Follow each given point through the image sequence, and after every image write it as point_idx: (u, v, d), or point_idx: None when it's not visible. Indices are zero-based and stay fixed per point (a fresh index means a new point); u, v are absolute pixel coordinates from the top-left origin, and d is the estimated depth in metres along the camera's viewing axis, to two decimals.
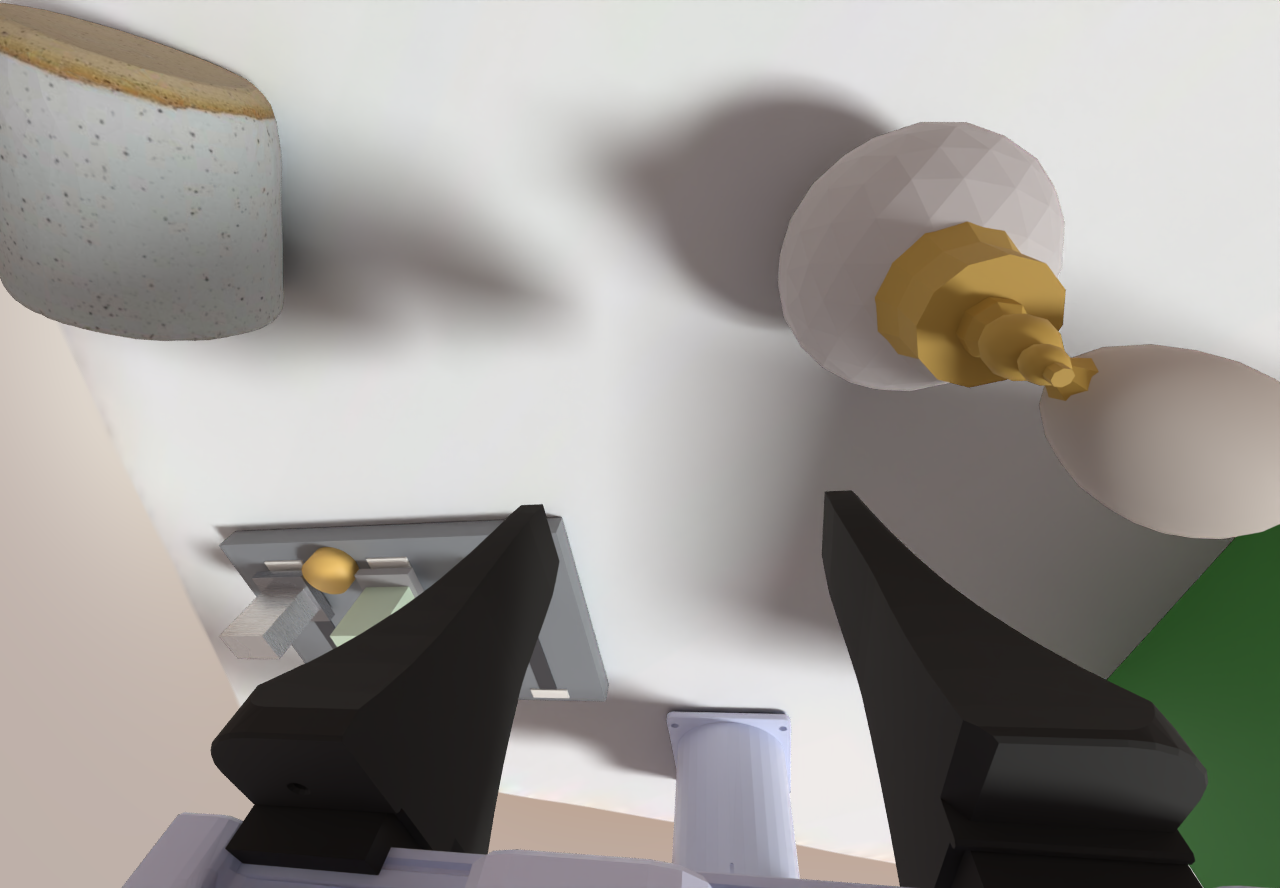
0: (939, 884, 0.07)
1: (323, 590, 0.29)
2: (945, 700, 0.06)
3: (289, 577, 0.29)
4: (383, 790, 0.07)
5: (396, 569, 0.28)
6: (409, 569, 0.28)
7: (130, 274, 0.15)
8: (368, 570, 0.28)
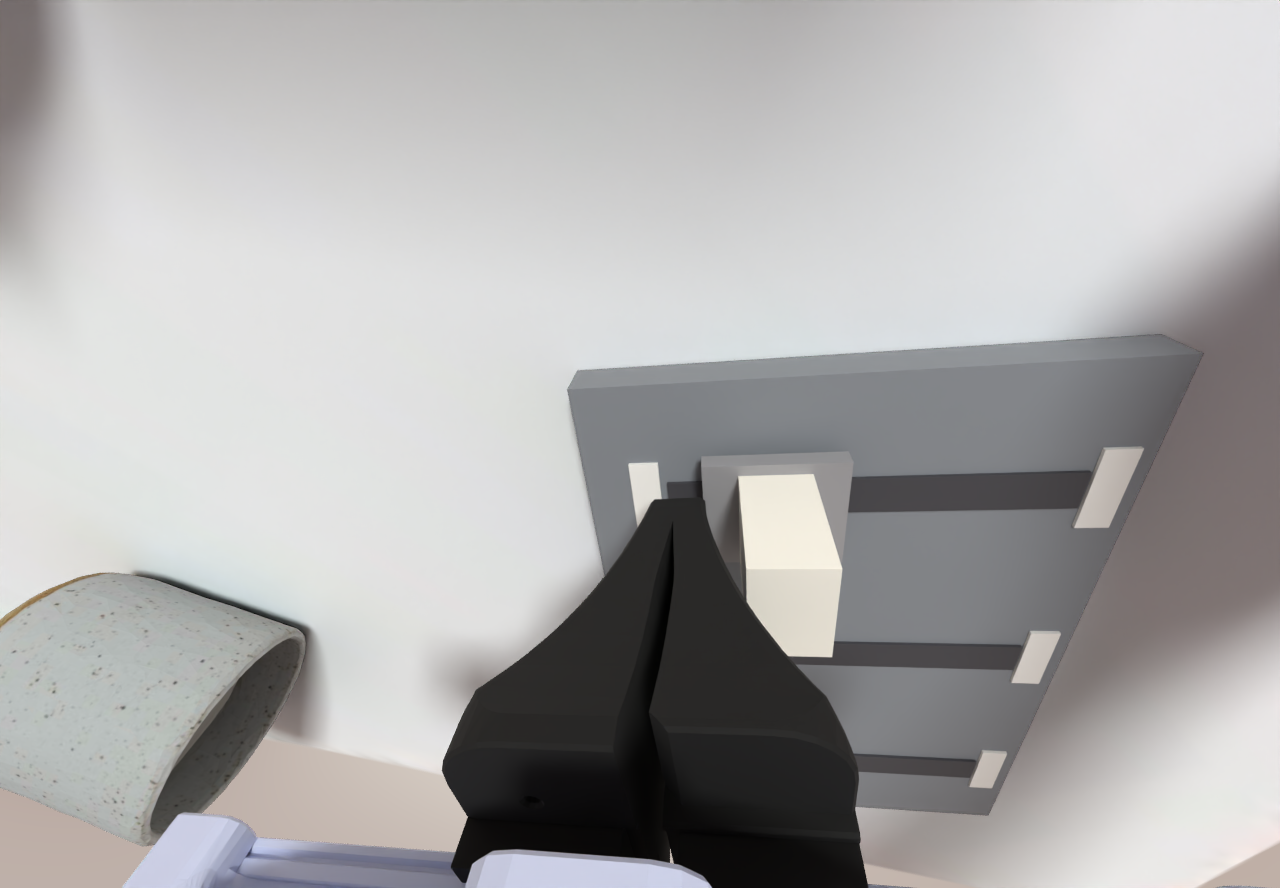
0: None
1: None
2: (657, 694, 0.07)
3: None
4: (628, 804, 0.07)
5: None
6: None
7: (86, 768, 0.16)
8: None
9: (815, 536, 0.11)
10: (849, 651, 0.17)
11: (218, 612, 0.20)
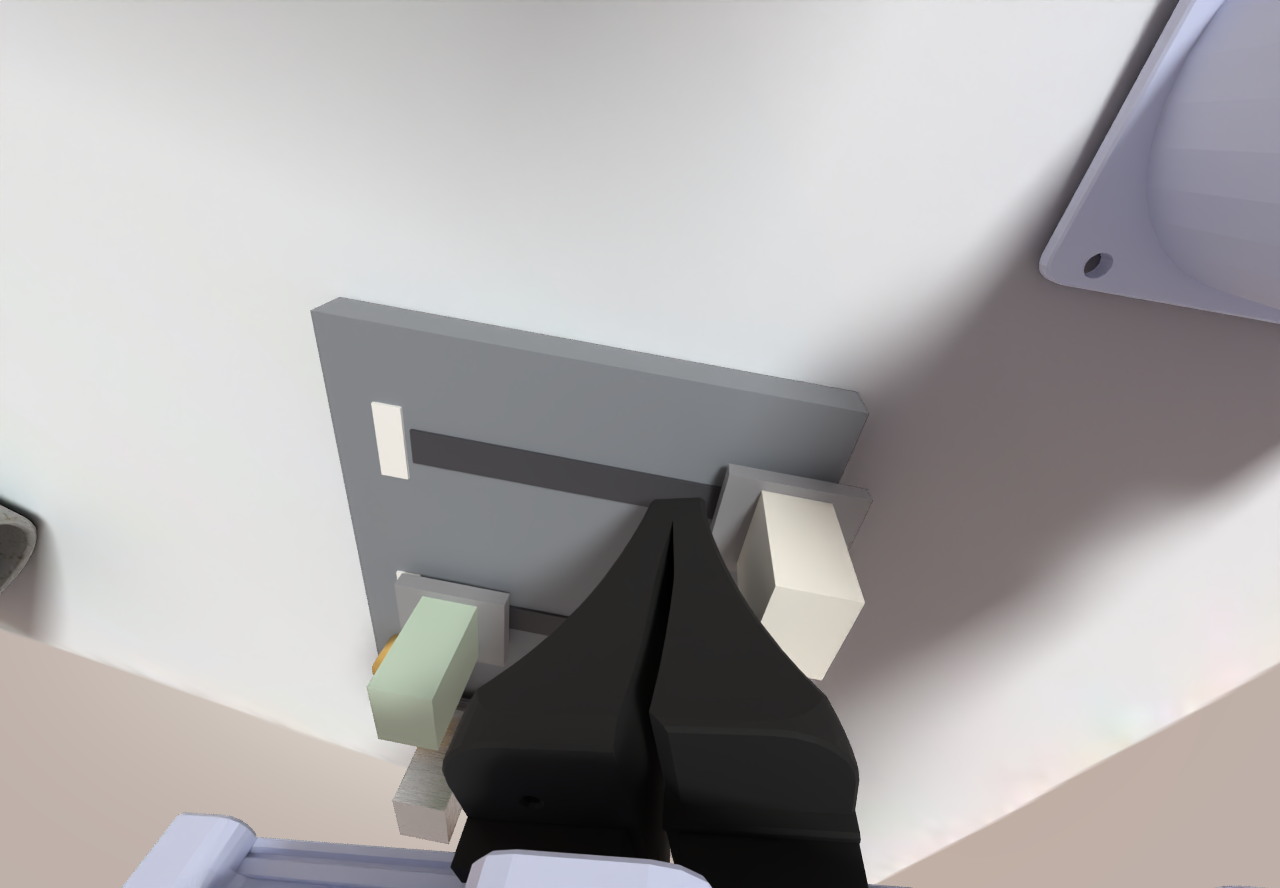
0: None
1: None
2: (657, 694, 0.07)
3: None
4: (628, 804, 0.07)
5: None
6: (399, 578, 0.17)
7: None
8: None
9: (838, 566, 0.11)
10: None
11: None
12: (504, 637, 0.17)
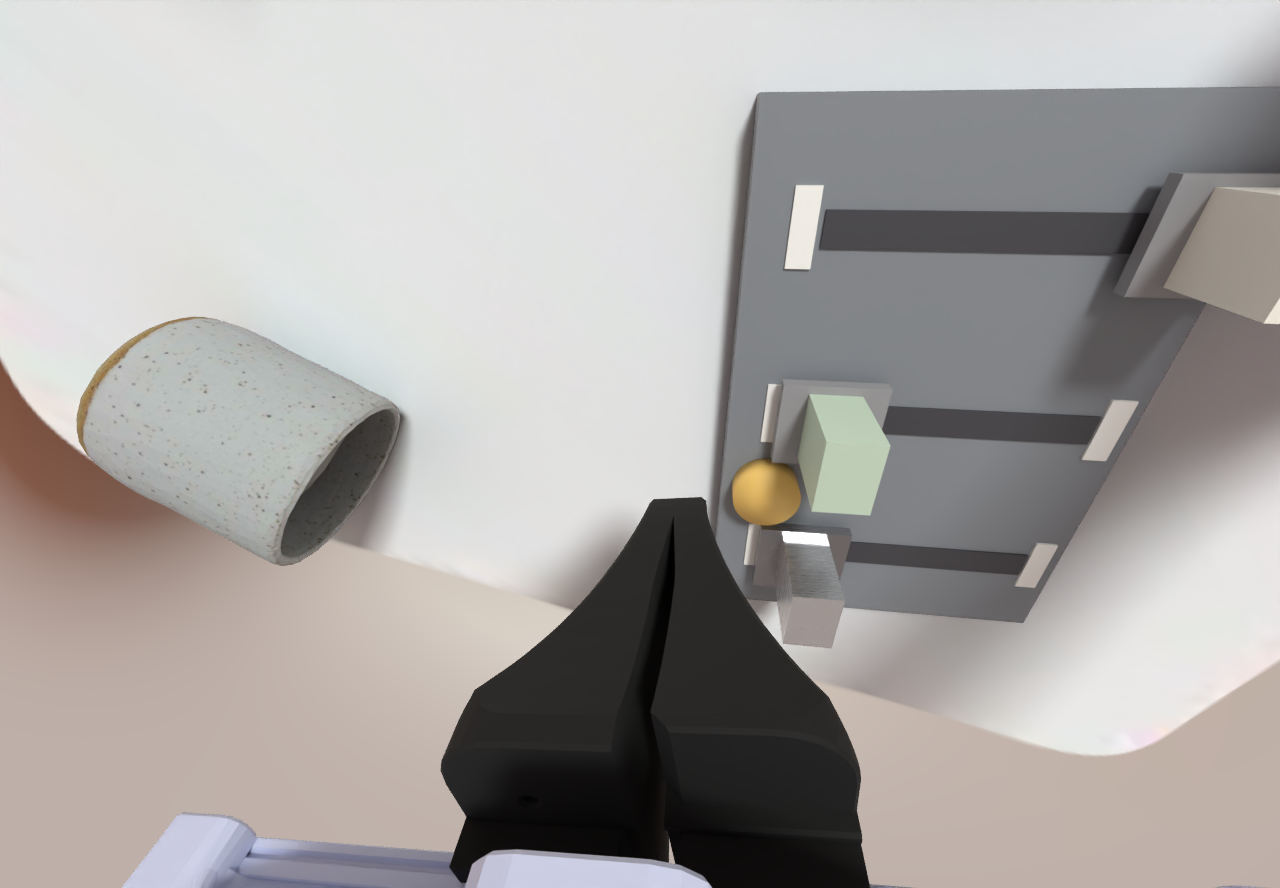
0: (677, 864, 0.07)
1: (789, 513, 0.21)
2: (658, 694, 0.07)
3: (759, 543, 0.22)
4: (627, 804, 0.07)
5: (779, 402, 0.19)
6: (782, 382, 0.18)
7: (234, 462, 0.17)
8: (773, 442, 0.19)
9: None
10: (944, 420, 0.19)
11: (334, 373, 0.21)
12: None
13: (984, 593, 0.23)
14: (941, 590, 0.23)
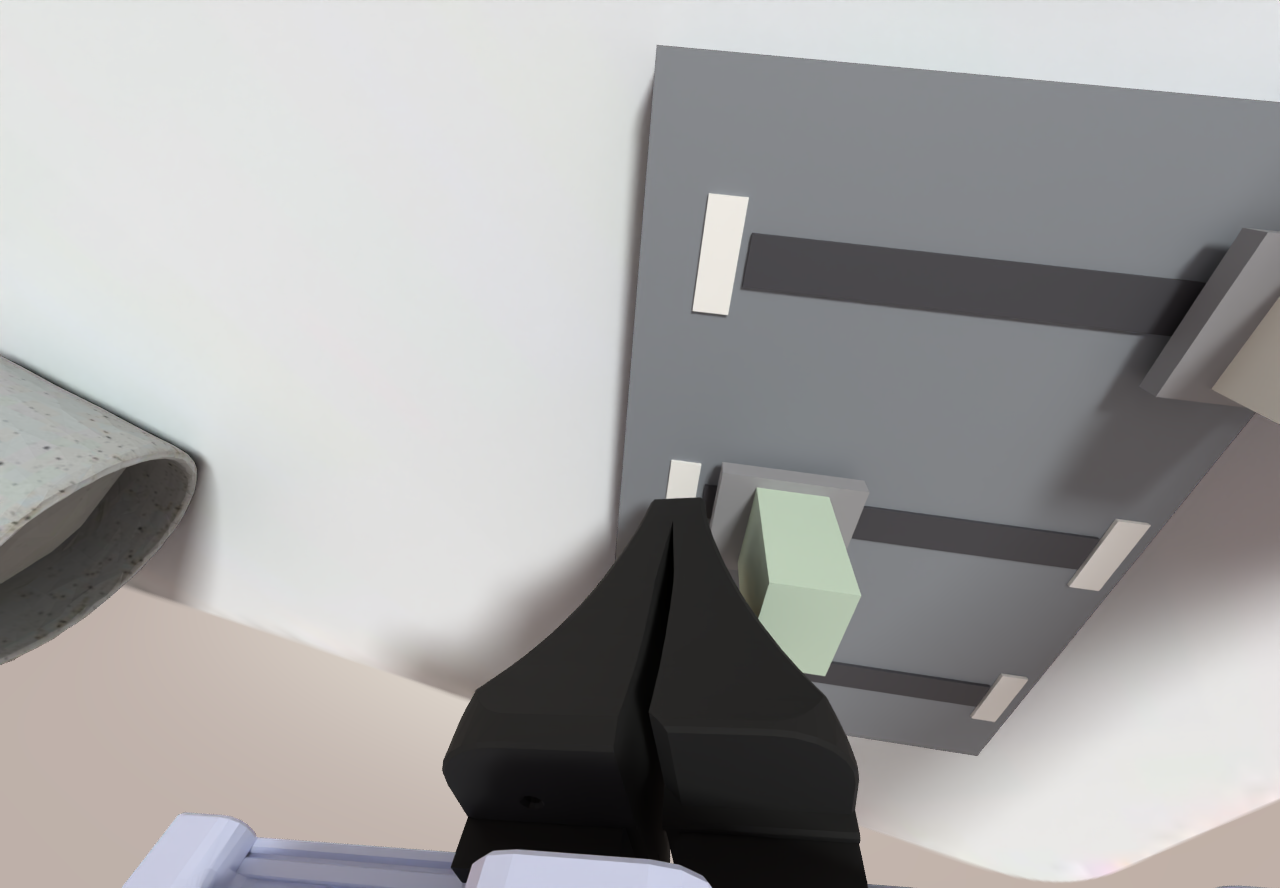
0: None
1: None
2: (657, 694, 0.07)
3: None
4: (629, 804, 0.07)
5: (717, 491, 0.14)
6: (722, 467, 0.13)
7: None
8: None
9: None
10: (899, 524, 0.14)
11: (82, 405, 0.15)
12: (848, 541, 0.14)
13: (934, 721, 0.18)
14: (882, 714, 0.19)
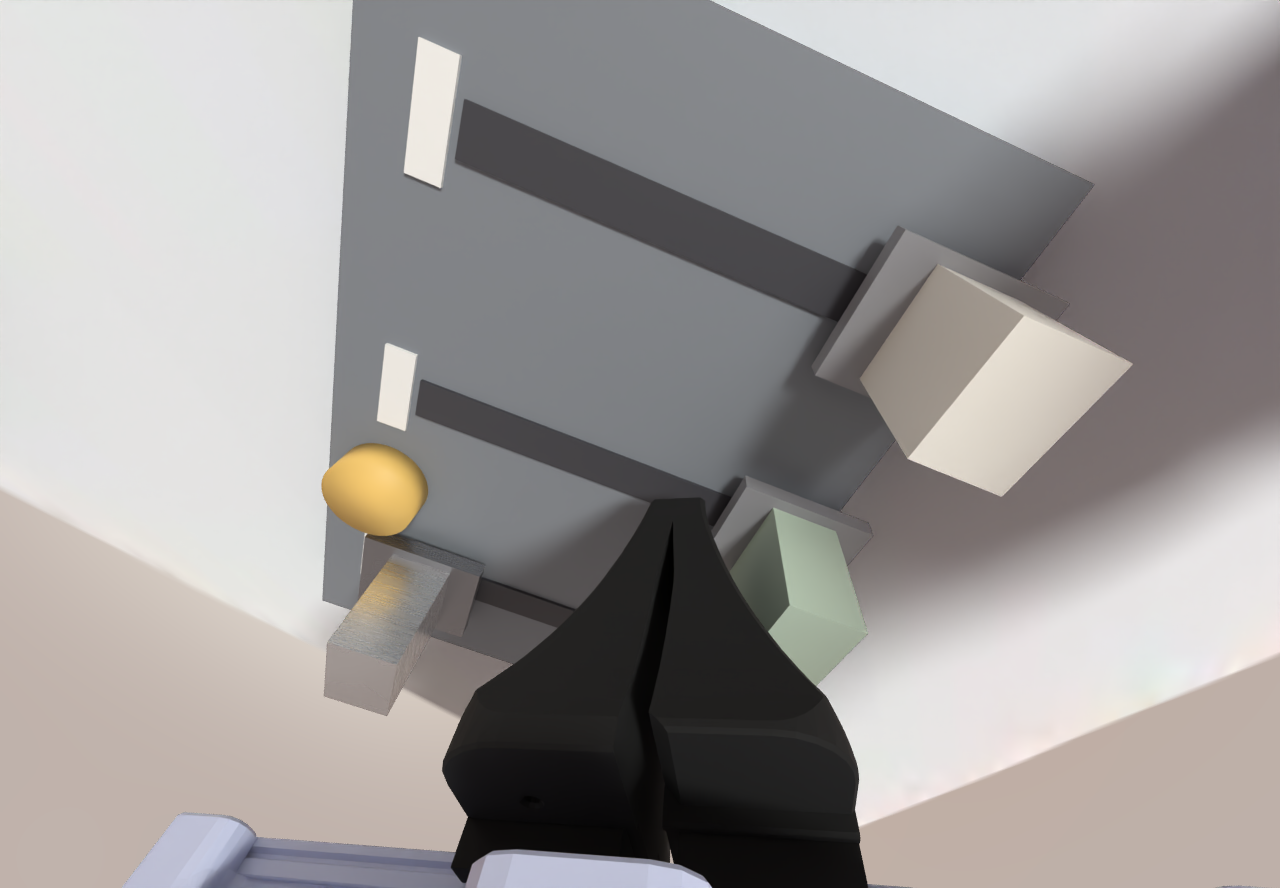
0: None
1: (398, 527, 0.15)
2: (656, 694, 0.07)
3: (363, 554, 0.16)
4: (628, 804, 0.07)
5: (730, 502, 0.14)
6: (744, 481, 0.13)
7: None
8: None
9: (1074, 332, 0.08)
10: (610, 466, 0.14)
11: None
12: None
13: None
14: None
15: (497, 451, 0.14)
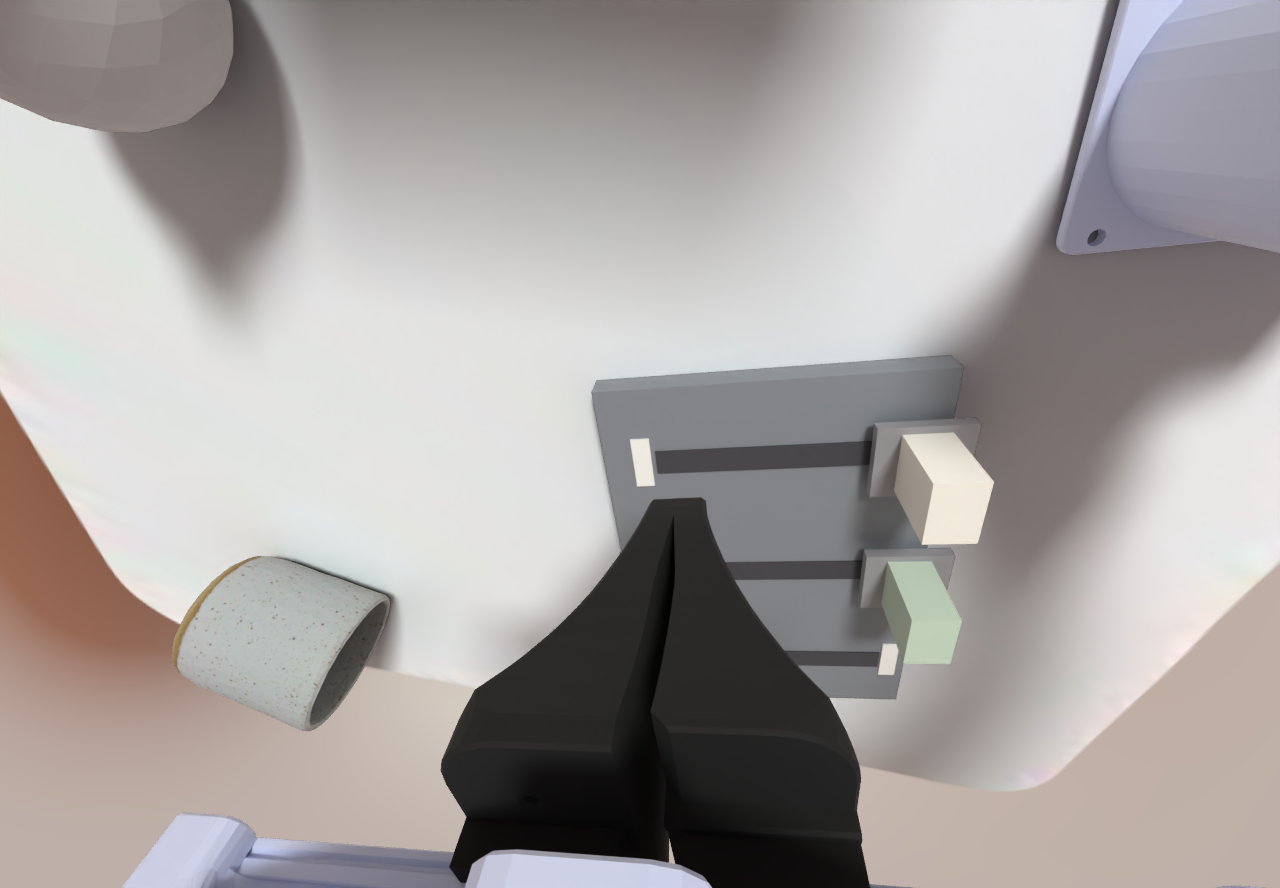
0: (677, 864, 0.07)
1: None
2: (658, 694, 0.07)
3: None
4: (627, 804, 0.07)
5: (862, 565, 0.24)
6: (864, 553, 0.23)
7: (274, 675, 0.25)
8: (859, 592, 0.24)
9: (970, 466, 0.17)
10: (782, 568, 0.25)
11: (338, 582, 0.29)
12: (947, 582, 0.23)
13: (857, 680, 0.28)
14: (823, 679, 0.29)
15: None
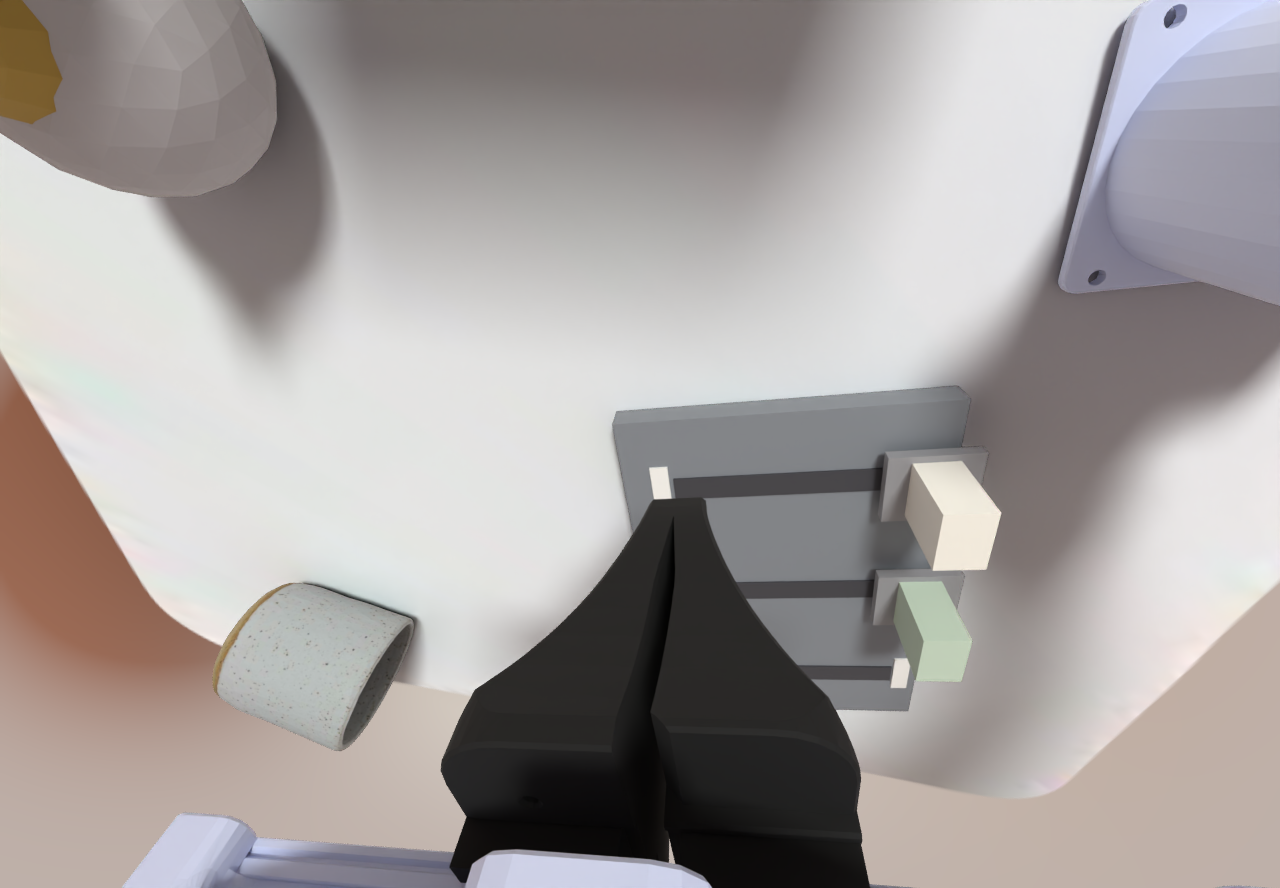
0: (677, 864, 0.07)
1: None
2: (658, 694, 0.07)
3: None
4: (627, 804, 0.07)
5: (875, 585, 0.24)
6: (876, 573, 0.24)
7: (309, 699, 0.26)
8: (872, 610, 0.25)
9: (978, 496, 0.18)
10: (796, 587, 0.26)
11: (365, 607, 0.30)
12: (957, 601, 0.24)
13: (870, 693, 0.29)
14: (837, 692, 0.30)
15: None
